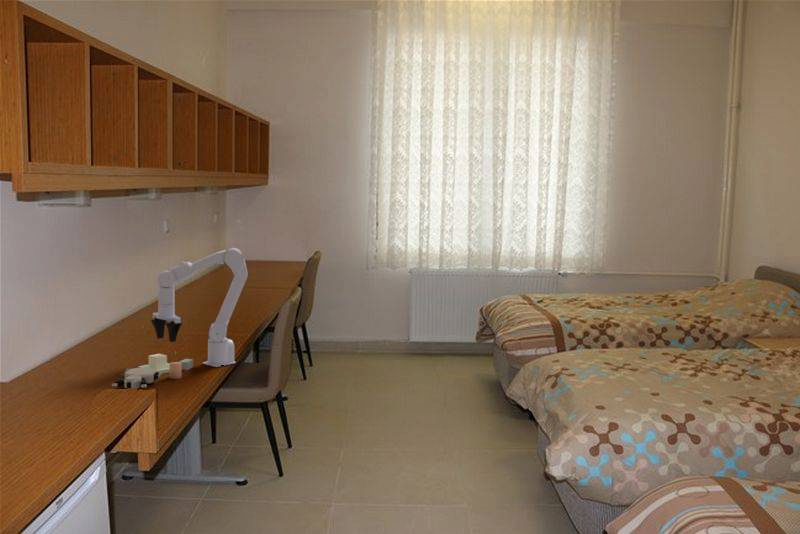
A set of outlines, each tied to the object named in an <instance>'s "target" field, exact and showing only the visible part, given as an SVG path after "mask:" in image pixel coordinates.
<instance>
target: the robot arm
mask: <svg viewBox="0 0 800 534" xmlns="http://www.w3.org/2000/svg"><path fill="white" fill-rule="evenodd" d="M215 264H217V265H218V264H219V265H224V264H226V265H227V266H228V267H229V268H230V269H231V271H232V273H233V279H232V281H231V284H230V286H229V288H228V291H227V294H226V296H225V298H224V300H223V303H222V305H221V307H220V310H219V312H218V315H217V316H216V319H215V321H214V322H212V323H211V325H210V326H209V331H208V337H209V338H208V339H207V360H206V361H203V362H202V364H204V365H206V366H209V367H210V366H211V367H214V368H218V367H222V366H221V365H224V366H228V365H233V364H236V361H235V344H234V341H233V340H232V339H230V338H228V337H227V331H228V325H229V321H230V319H231V317H232V315H233V312H234V310H235V307H236V305H237V303H238V301H239V297H240V296H241V293H242V290H243V288H244V287H245V286H244V285H245V283H246V281H247V279H248V274H249V273H248V268H247V264H246V260H245V256H244V254H243V252H242V251H241V250H240V249H239V248H237V247H230V248H228V249H223V250H220V251H217V252H215V253H212V254H210V255H207V256H205V257H204V258H201V259H199V260H197V261H194V262H190V261H181V262H180V264H178V265H176V266H174V267H169V268H167V270H164V271H161V273H160V274H159V275H158V276H157V283H158V292H157V293H158V294H157V295H158V298H157V299H158V300H157V305H158V307H157V312H152V318H153V319H150V322H151V323H152V326H153V328H154V330H155V334H156V338H157V339H158V340H159V339H160V340H161V339H164V336H165V328H167V332H168V339H169V341H168V342H170V343H174V342H176V340H177V338H178V333H179V332H180V331H179V330H180V329H181V327H182V325H183V323H182V321H181V317H180V316H178V315H176V312H175V311H176V309H175V308H176V306H175V305H176V303H175V302H176V301H175V297H176V296H175V283H180V282H182V281H185V280H187V279H190V278H192V277H194V276H195V275H196V272H197V271H199V270H201V269H205V268H207V267H209V266H212V265H215Z"/></svg>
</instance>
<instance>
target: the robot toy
mask: <svg viewBox="0 0 800 534" xmlns="http://www.w3.org/2000/svg"><path fill="white" fill-rule="evenodd" d="M162 372H163V370H162V371H161V373H162ZM161 373H160V374H159V372H157V370H155V369H151V368H138V367H134V368H126V370H125V371H124V373H122V379H118V380H115V382H113V383H112V384H111V387H115V388H116V387H117V388H119V387H122V386H123V387H124V389H125V388H133V389H138V390H139V388H141V389H146V388H147V386H148V385H149V384H152V383H154V382H155V381H156V380H157V379H159V378H160V377H161V375H162V374H161Z"/></svg>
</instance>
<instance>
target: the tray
mask: <svg viewBox="0 0 800 534" xmlns="http://www.w3.org/2000/svg"><path fill="white" fill-rule="evenodd" d="M169 363H170V362H169ZM169 363H168V362H167V368H166V369H161V370H157V372H159V374H160V373H161V371H162V370H163V372H162V373H161V375H163V374H169ZM137 368H149V363H148V364H143V365H139V366H138V367H137Z"/></svg>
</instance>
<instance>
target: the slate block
mask: <svg viewBox="0 0 800 534" xmlns="http://www.w3.org/2000/svg"><path fill="white" fill-rule="evenodd" d="M179 362H181V363H182V371H188V370H190V369H192V368H193V367H194V359H193V358H191V359H190V358H184V359H182V360H180V361H179Z"/></svg>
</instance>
